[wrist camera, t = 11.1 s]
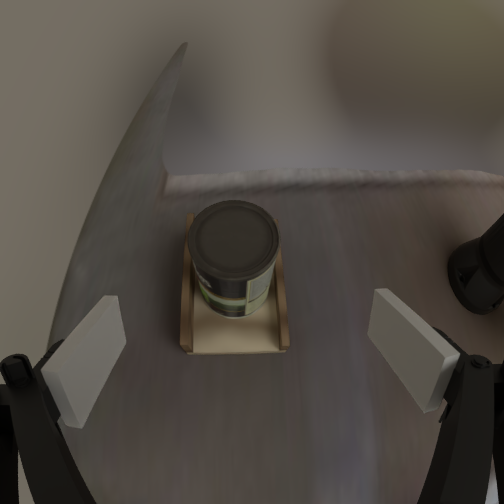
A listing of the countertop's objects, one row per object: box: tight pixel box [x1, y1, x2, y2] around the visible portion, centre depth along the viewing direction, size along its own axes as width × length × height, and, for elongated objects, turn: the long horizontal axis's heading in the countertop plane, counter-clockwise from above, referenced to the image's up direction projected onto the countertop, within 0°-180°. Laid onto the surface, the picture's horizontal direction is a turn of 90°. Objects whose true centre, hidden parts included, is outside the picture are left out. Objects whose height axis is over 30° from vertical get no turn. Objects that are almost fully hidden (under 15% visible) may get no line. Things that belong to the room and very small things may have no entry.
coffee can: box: [187, 200, 281, 319], centre depth 40 cm, size 10×10×14 cm
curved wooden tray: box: [180, 213, 290, 355], centre depth 45 cm, size 20×14×6 cm
